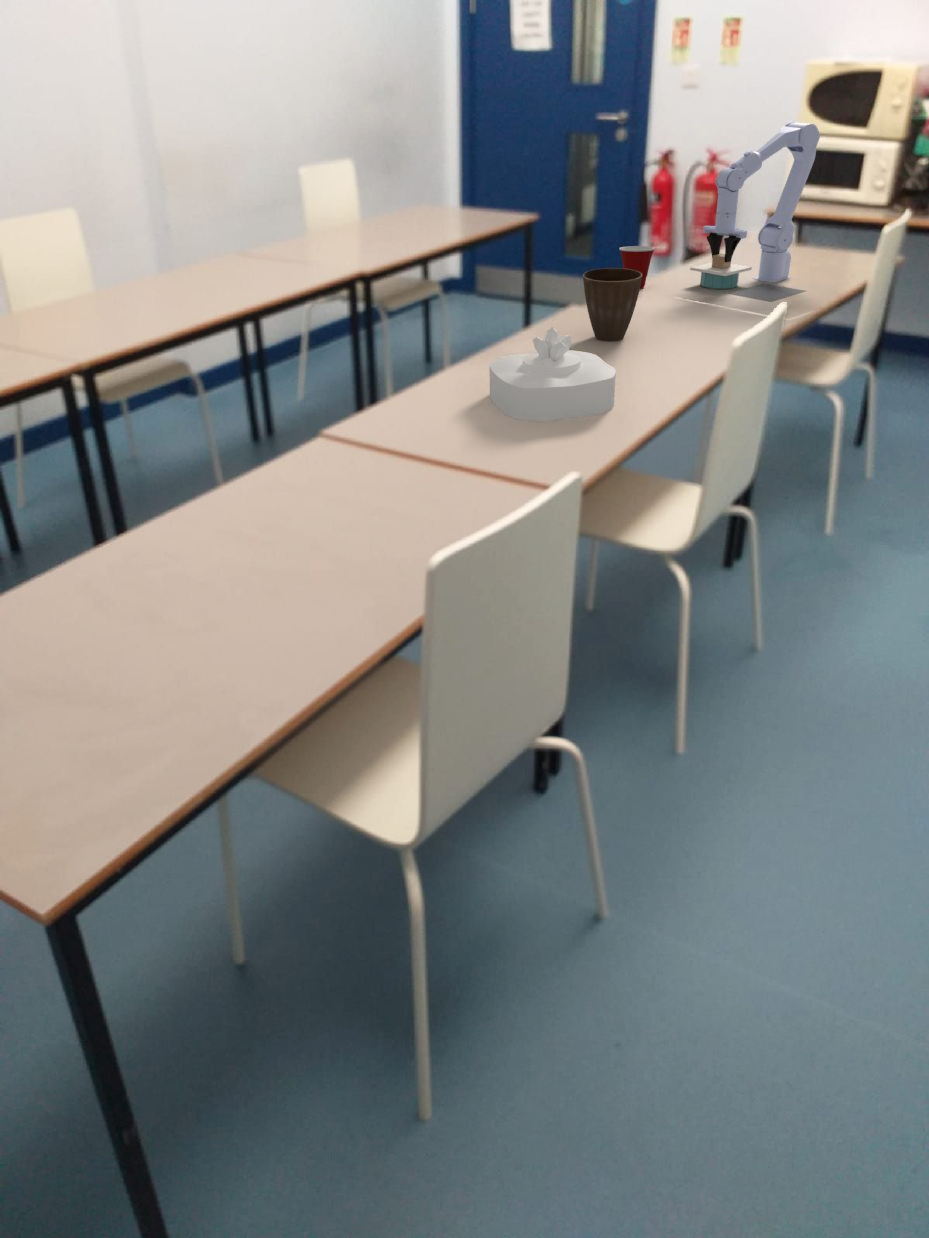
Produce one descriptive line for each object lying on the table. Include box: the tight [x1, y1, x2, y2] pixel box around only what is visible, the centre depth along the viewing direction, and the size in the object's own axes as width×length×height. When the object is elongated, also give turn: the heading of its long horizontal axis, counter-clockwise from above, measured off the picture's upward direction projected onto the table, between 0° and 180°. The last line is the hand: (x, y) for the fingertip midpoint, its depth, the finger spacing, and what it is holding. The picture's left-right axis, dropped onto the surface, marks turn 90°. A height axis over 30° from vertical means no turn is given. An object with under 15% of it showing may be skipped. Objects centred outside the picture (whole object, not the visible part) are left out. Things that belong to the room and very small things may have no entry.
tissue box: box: [489, 326, 617, 423], centre depth 208 cm, size 25×25×16 cm
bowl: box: [699, 272, 740, 290], centre depth 297 cm, size 11×11×5 cm
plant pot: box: [582, 267, 642, 342], centre depth 249 cm, size 15×15×16 cm
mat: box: [728, 282, 806, 303], centre depth 288 cm, size 18×15×1 cm
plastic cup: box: [619, 245, 656, 290], centre depth 298 cm, size 11×11×12 cm
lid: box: [689, 252, 753, 276], centre depth 294 cm, size 13×13×4 cm
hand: (721, 261), depth 294 cm, fingers closed on lid, 4 cm apart
